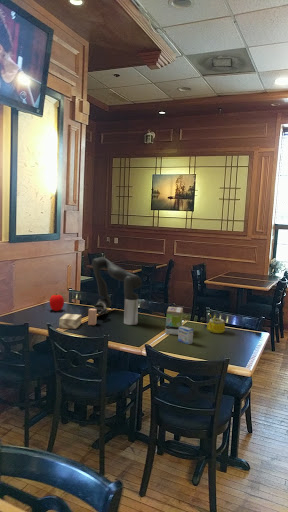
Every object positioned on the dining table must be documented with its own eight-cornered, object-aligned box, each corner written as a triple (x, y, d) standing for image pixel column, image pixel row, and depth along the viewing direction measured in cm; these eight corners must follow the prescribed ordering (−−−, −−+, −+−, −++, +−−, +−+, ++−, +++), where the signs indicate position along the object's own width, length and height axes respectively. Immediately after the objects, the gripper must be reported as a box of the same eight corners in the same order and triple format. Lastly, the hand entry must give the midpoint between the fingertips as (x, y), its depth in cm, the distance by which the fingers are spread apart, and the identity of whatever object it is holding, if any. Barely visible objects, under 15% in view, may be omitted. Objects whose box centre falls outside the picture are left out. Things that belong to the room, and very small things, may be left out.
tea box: (180, 335, 230) (182, 312, 229) (164, 333, 232) (166, 310, 230) (182, 328, 245) (183, 307, 244) (167, 327, 246) (168, 305, 245)
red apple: (64, 312, 277) (65, 295, 276) (50, 312, 273) (50, 295, 272) (62, 308, 287) (62, 292, 286) (48, 309, 283) (48, 292, 282)
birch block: (81, 323, 247) (81, 314, 247) (75, 328, 234) (76, 319, 234) (65, 322, 248) (65, 313, 248) (59, 327, 235) (59, 318, 235)
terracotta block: (96, 323, 249) (96, 308, 248) (94, 325, 245) (95, 310, 244) (89, 322, 250) (90, 308, 249) (88, 324, 245) (88, 310, 244)
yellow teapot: (218, 328, 248) (219, 311, 247) (227, 333, 238) (229, 315, 237) (202, 330, 243) (203, 312, 242) (210, 335, 233) (212, 316, 232)
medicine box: (177, 341, 218) (178, 326, 217) (182, 339, 221) (183, 325, 220) (188, 344, 212) (188, 330, 212) (192, 343, 215) (193, 328, 215)
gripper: (90, 302, 269) (84, 307, 253) (109, 303, 268) (105, 308, 252) (90, 312, 270) (84, 317, 254) (109, 313, 269) (104, 318, 253)
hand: (94, 312), depth 253 cm, fingers open, 8 cm apart
